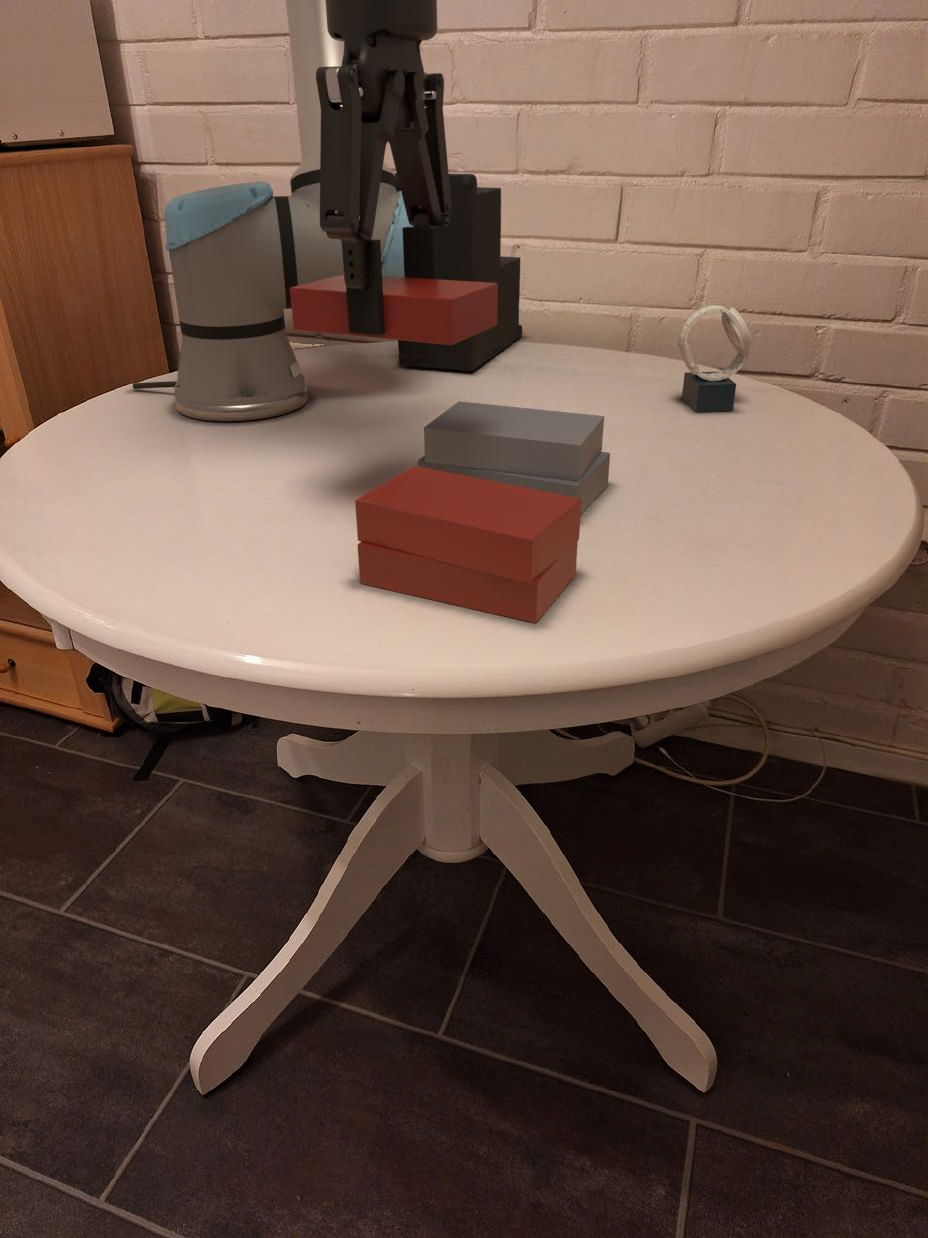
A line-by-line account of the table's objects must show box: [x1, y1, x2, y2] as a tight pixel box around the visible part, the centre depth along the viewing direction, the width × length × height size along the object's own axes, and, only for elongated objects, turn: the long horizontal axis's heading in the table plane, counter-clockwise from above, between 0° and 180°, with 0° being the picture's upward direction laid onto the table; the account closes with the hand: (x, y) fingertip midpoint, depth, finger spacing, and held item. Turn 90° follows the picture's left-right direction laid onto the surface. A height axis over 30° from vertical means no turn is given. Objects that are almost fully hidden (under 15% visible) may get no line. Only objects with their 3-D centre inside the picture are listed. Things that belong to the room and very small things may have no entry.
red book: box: [290, 274, 498, 345], centre depth 71 cm, size 14×8×3 cm, turn 64°
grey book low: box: [417, 451, 611, 515], centre depth 82 cm, size 15×9×3 cm, turn 64°
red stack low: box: [357, 540, 579, 624], centre depth 67 cm, size 14×8×3 cm, turn 64°
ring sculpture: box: [677, 304, 754, 413], centre depth 103 cm, size 6×8×11 cm
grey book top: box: [423, 400, 605, 481], centre depth 81 cm, size 14×8×3 cm, turn 69°
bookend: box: [394, 172, 523, 372], centre depth 123 cm, size 23×11×24 cm, turn 160°
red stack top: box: [354, 465, 582, 583], centre depth 65 cm, size 14×8×3 cm, turn 60°
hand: (395, 322), depth 71 cm, fingers closed on red book, 8 cm apart
